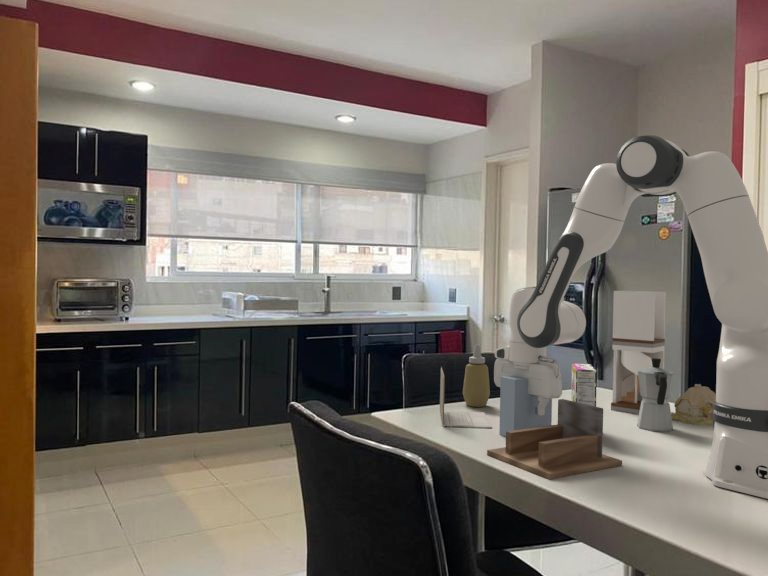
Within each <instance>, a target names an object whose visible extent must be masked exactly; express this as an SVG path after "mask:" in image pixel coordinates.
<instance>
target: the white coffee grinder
mask: <svg viewBox="0 0 768 576" xmlns="http://www.w3.org/2000/svg"><path fill="white" fill-rule="evenodd" d="M666 296H667V292H666V291H646V290H645V291H639V290H638V291H637V290H613V299H612V300H613V302H612V303H613V305H612V307H613V308H612V341H611V342H612V346H611V347H612V350H613V364H612V365H613V368H612V369H613V370H612V371H613V372H612V402H611V403H610V410H611V411H615V410H616V411H617V412H622V411H623V413H630V414H635V413H636V414H635V415H637V414H638V415H639V411H640V406H641V401H642V400H643V397H642V396H641V394H640V385H639V377H638V371H639V370H642V369H647V368H651V367H653V366H652V359H651V358H659V359H661V362H660V367H659V368H662V369H665V348H666V347H665V345H666V344H665V343H666V308H667V307H666V306H667V305H666V304H667V303H666V302H667V298H666ZM616 411H615V412H616Z"/></svg>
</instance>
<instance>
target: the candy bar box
mask: <svg viewBox="0 0 768 576" xmlns="http://www.w3.org/2000/svg"><path fill="white" fill-rule="evenodd" d="M597 372H598V371H597V370H596V368H595V367H593V365H592V364H590V363H572V364H571V400H570V401H574V402H578V403H582V404H586V405H591V406H595V407H597V374H598V373H597Z"/></svg>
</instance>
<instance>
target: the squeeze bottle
mask: <svg viewBox="0 0 768 576" xmlns="http://www.w3.org/2000/svg"><path fill="white" fill-rule="evenodd" d="M468 362H469V363H468V364H466V365H465V368H464V369H465V371H464V379H463V387H462V395H463V399H464V403H465V405H466V406H468V407H472V408H483V407H486V406H487V403H488V401H489V398H490V395H491V390H490V389H491V388H490V375H489V367H488V366H487V364H485V363H486V357H484V356H482V351H481V347H480V344H475V345H474V349H473V354H472V356H469V358H468Z"/></svg>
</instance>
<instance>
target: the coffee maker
mask: <svg viewBox="0 0 768 576" xmlns="http://www.w3.org/2000/svg"><path fill="white" fill-rule="evenodd" d="M651 359H652V366H653V367H651V368H647V369H642V370H639V371H638V377H639V385H640V394H641V396H642V397H643V400H642V401H641V406H640V411H639V414H638V417H637V423H636V426H637V427H638V429H641V430H646V431H648V432H649V431H650V432H658V433H659V432H661V433H668V432H673V431H674V426H673V419H672V418H671V415H672V412H671V405H670V403H669V399H671V397H672V390H673V383H674V379H675V378H674V377H675V372H673V371H670V370H668V369H665V368H664V369H662V368H659V367H660V362H661V359H659V358H651Z"/></svg>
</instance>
